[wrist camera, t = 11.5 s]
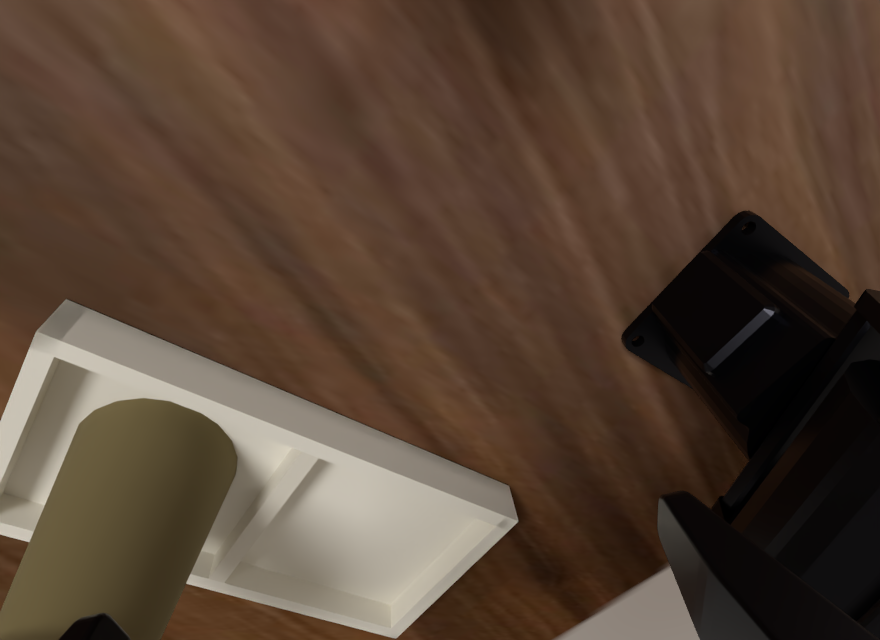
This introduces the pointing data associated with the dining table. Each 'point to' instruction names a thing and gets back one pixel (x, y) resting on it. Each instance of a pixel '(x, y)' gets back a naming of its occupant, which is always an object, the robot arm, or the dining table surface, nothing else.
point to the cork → (122, 521)
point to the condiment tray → (262, 479)
